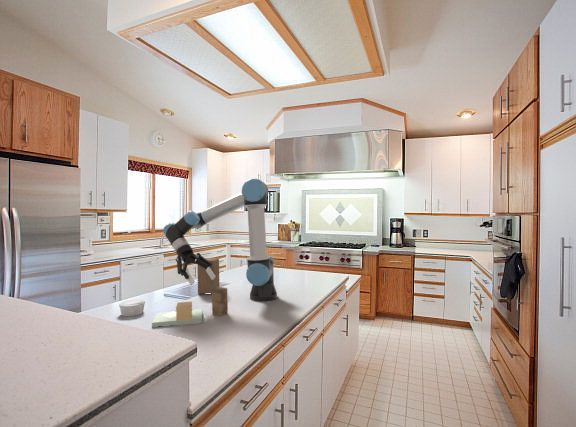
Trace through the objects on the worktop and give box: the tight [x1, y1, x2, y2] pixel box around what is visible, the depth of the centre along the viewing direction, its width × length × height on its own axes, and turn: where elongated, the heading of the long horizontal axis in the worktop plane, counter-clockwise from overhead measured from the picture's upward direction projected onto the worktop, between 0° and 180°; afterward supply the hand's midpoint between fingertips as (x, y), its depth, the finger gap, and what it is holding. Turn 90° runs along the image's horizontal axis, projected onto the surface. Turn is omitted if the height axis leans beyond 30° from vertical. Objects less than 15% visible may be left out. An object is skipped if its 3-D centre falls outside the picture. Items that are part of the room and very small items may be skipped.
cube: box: [175, 301, 193, 320], centre depth 140 cm, size 6×6×6 cm
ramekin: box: [119, 299, 146, 317], centre depth 154 cm, size 11×11×5 cm
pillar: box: [211, 286, 229, 317], centre depth 151 cm, size 5×5×12 cm
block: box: [196, 257, 220, 295], centre depth 192 cm, size 10×10×20 cm
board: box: [151, 308, 204, 328], centre depth 143 cm, size 20×14×2 cm
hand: (203, 280), depth 157 cm, fingers open, 13 cm apart
